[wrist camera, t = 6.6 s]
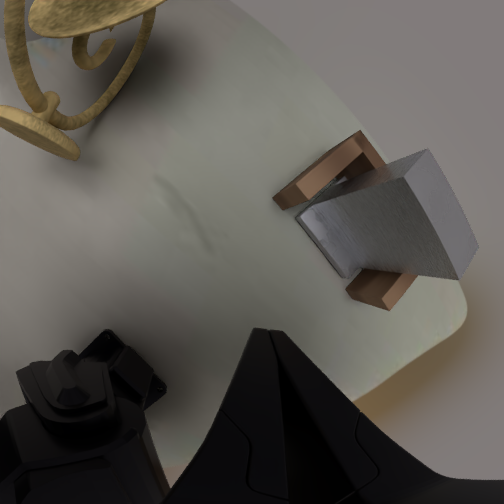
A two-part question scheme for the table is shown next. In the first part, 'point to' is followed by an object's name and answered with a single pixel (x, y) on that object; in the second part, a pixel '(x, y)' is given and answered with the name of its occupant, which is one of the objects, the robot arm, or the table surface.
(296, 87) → the table surface
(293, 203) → the walnut u-shaped bracket
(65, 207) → the table surface
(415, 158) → the angle bracket
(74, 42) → the wall sconce
